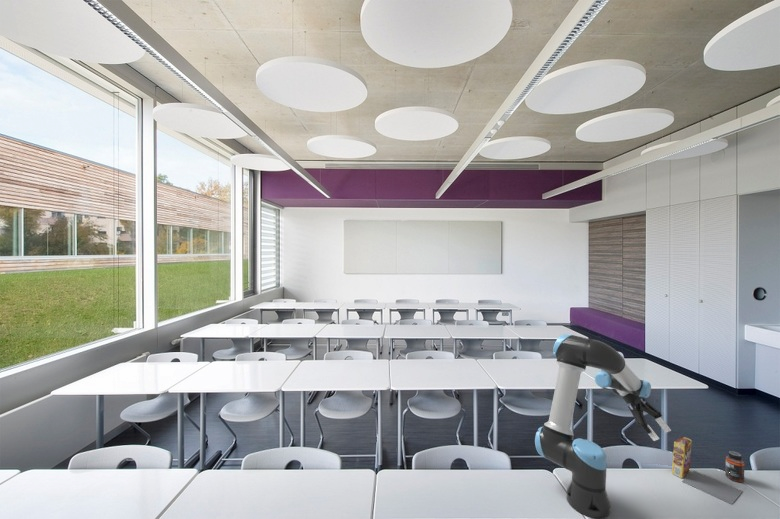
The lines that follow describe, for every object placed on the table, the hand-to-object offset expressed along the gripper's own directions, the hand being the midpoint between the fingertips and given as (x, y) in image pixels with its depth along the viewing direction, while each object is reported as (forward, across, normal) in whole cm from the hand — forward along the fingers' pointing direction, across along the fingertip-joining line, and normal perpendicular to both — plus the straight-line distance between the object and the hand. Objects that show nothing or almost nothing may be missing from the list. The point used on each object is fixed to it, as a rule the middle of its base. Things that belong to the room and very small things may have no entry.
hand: (662, 435), depth 165 cm
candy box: (+15, +1, -4) cm, 16 cm away
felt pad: (+22, +1, +3) cm, 23 cm away
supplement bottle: (+25, -15, +6) cm, 30 cm away
